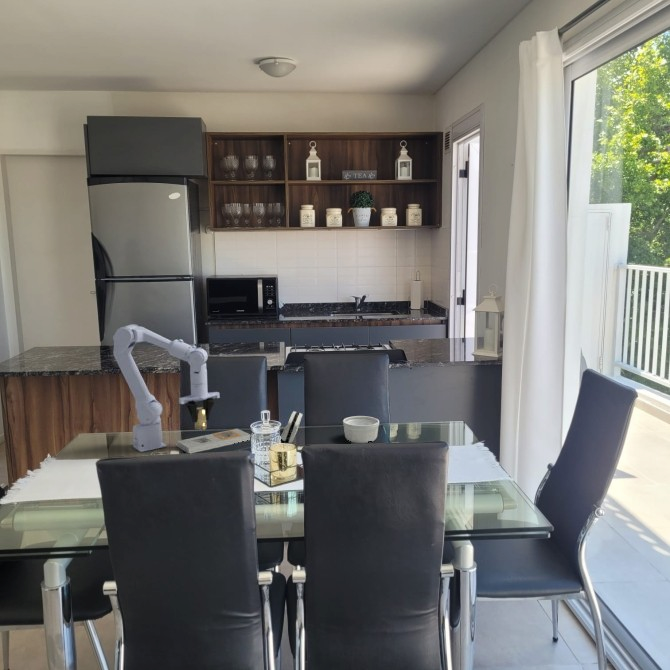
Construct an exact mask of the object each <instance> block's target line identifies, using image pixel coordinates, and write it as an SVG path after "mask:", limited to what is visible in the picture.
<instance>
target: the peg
mask: <svg viewBox="0 0 670 670" xmlns="http://www.w3.org/2000/svg"><path fill="white" fill-rule="evenodd" d="M196 415H197V422H195V423H194V429H195V430H206V429H207V428H208V427H207V426H208V425H207V420H206V408H204V407H203V406H201V407H199V406H197V411H196Z"/></svg>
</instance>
